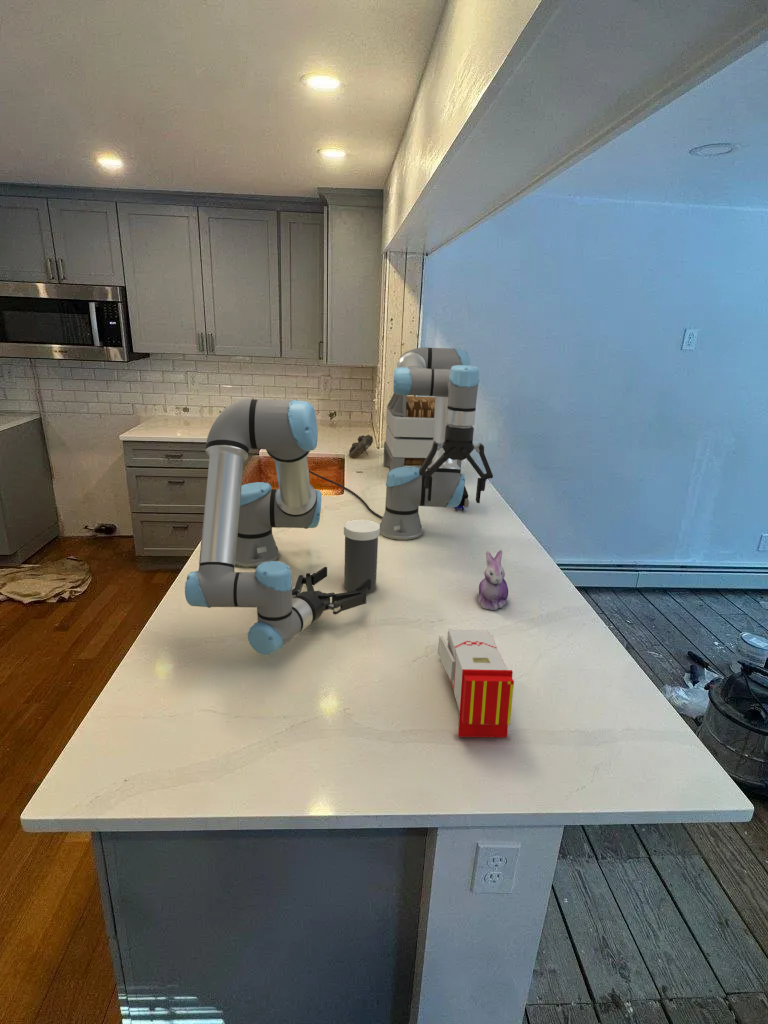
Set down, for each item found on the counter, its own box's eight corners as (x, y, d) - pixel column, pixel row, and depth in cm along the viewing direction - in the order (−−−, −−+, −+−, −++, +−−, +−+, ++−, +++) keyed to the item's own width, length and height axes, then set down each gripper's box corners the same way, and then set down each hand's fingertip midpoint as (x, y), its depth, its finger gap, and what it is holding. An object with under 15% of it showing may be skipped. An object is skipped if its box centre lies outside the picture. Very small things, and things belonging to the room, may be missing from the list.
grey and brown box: (382, 463, 289) (386, 382, 275) (445, 464, 293) (451, 384, 279) (390, 482, 257) (394, 392, 243) (460, 483, 261) (468, 394, 247)
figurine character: (468, 516, 224) (463, 500, 237) (471, 498, 221) (465, 483, 234) (452, 515, 224) (447, 499, 237) (453, 498, 220) (449, 482, 234)
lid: (336, 532, 155) (336, 524, 154) (364, 524, 161) (364, 517, 161) (359, 543, 148) (359, 535, 148) (386, 535, 155) (387, 527, 154)
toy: (488, 613, 130) (523, 677, 101) (484, 667, 133) (517, 744, 104) (435, 612, 130) (455, 676, 101) (432, 666, 133) (451, 743, 103)
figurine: (490, 614, 149) (496, 562, 144) (467, 597, 157) (472, 547, 152) (518, 607, 153) (525, 556, 148) (494, 591, 162) (500, 542, 156)
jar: (337, 586, 161) (338, 525, 155) (362, 577, 166) (364, 519, 160) (357, 598, 154) (359, 536, 148) (382, 589, 160) (385, 528, 154)
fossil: (349, 441, 314) (370, 425, 309) (359, 454, 317) (380, 439, 312) (342, 454, 295) (365, 438, 290) (354, 468, 298) (376, 453, 293)
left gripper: (259, 611, 141) (308, 578, 158) (345, 640, 130) (388, 602, 148) (258, 584, 138) (308, 554, 156) (346, 611, 128) (389, 576, 145)
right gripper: (503, 424, 155) (495, 498, 162) (412, 420, 155) (408, 494, 162) (509, 430, 148) (500, 506, 155) (413, 426, 148) (409, 502, 155)
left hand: (347, 577), depth 152 cm, fingers open, 13 cm apart
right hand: (453, 500), depth 159 cm, fingers open, 13 cm apart
